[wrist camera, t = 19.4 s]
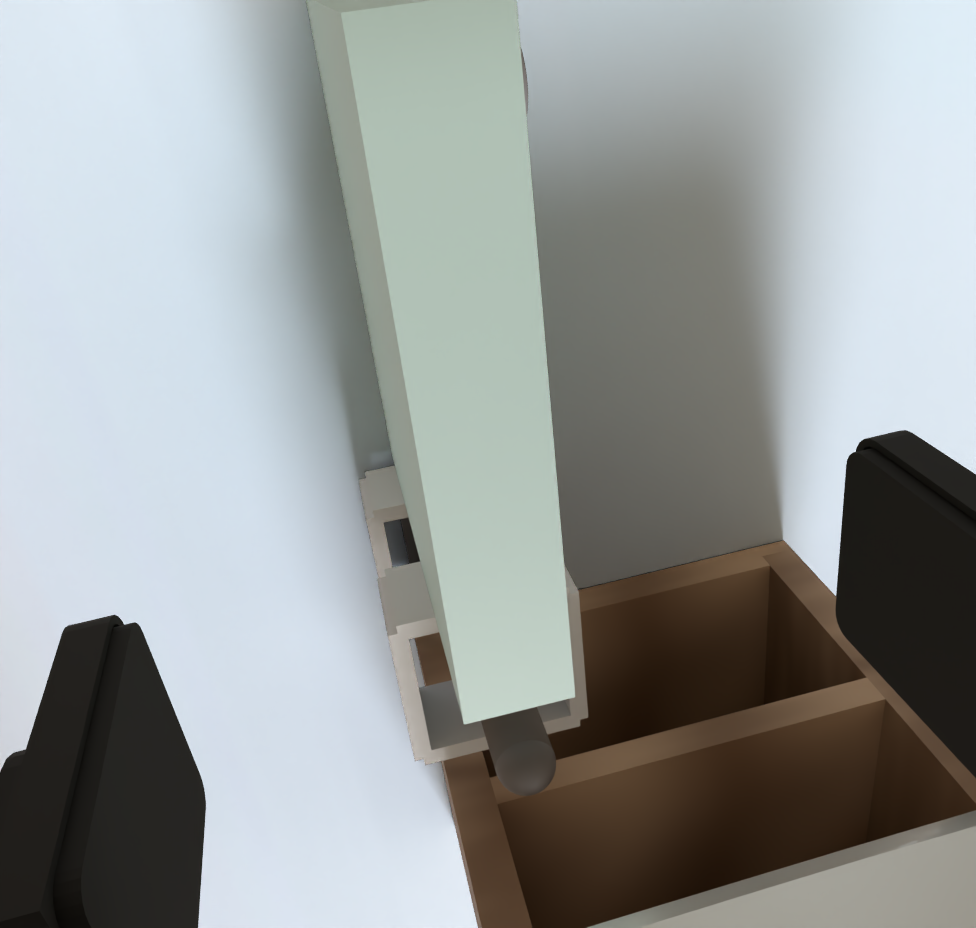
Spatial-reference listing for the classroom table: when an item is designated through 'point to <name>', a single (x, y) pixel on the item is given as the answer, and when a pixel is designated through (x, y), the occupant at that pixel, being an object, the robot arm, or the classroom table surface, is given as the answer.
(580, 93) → the classroom table surface
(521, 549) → the door
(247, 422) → the classroom table surface
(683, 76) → the classroom table surface
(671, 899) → the cabinet
